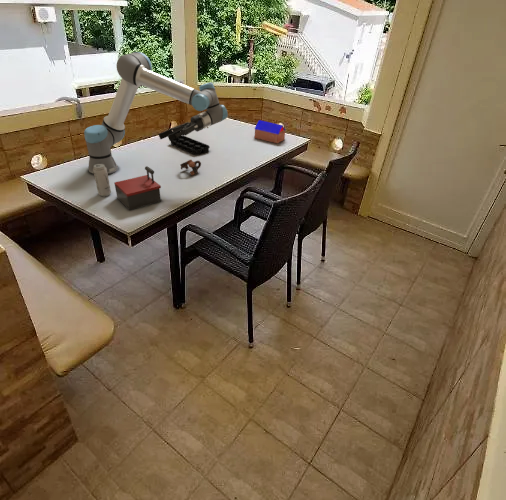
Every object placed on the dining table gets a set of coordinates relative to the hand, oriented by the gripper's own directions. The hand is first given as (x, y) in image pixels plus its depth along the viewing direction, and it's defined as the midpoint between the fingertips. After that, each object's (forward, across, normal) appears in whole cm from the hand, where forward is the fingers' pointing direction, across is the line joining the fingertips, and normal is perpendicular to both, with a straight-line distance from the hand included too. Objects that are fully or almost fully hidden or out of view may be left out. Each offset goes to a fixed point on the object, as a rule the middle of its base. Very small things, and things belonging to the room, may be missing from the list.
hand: (163, 137), depth 172 cm
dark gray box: (+25, -3, -21) cm, 33 cm away
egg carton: (-30, +52, -22) cm, 64 cm away
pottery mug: (-12, +15, -23) cm, 30 cm away
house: (-89, +47, -38) cm, 108 cm away
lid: (+23, -5, -15) cm, 28 cm away
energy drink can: (+37, +9, -15) cm, 41 cm away
